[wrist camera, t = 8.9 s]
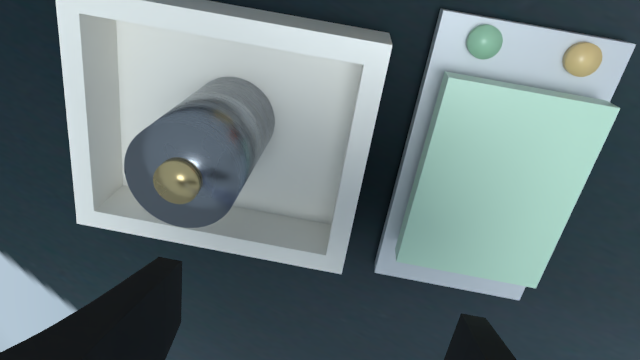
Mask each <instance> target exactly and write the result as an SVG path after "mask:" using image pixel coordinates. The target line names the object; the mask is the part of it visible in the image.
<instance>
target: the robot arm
mask: <svg viewBox="0 0 640 360" xmlns="http://www.w3.org/2000/svg"><path fill="white" fill-rule="evenodd" d="M181 295H182V261H178V260H172V259H167V258H162V257H158V258H157V259H155V260H154V261H152V262H151V263H149V264H148V265H146V266H145V267H143V268H142V269H140V270H139V271H137V272H136V273H134V274H133V275H131V276H130V277H129V278H127V279H126V280H124V281H123V282H121V283H120V284H118V285H117V286H115V287H114V288H112V289H111V290H109V291H108V292H106V293H105V294H103V295H102V296H100V297H98V298H97V299H95V300H94V301H92V302H91V303H89V304H88V305H86V306H84V307H83V308H81V309H79V310H78V311H76V312H74V313H73V314H71V315H69V316H68V317H66V318H64V319H63V320H61V321H59V322H58V323H56V324H54V325H53V326H51V327H49V328H47V329H45V330H44V331H42V332H40V333H38V334H36V335H34V336H32V337H31V338H29V339H27V340H25V341H23V342H21V343H19V344H17V345H15V346H13V347H11V348H9V349H7V350H5V351H3V352H0V360H165V358H166V356H167V354H168V352H169V349H170V347H171V345H172V342H173V340H174V338H175V335H176V333H177V330H178V328H179V326H180V323H181ZM444 360H516V358H515V357H514V356H513V354H512V353H511V352H510V350H509V349H508V348H507V346H506V345H505V344H504V342H503V341H502V340H501V338H500V337H499V335H498V334H497V333H496V331H495V330H494V329H493V327H492V326H491V325H490V323H489V322H488V321H487V320H486V318H482V317H477V316H471V315H466V314H461V315H460V318H459V321H458V323H457V326H456V329H455V332H454V334H453V337H452V340H451V342H450V345H449V348H448V351H447V353H446V356H445V359H444Z"/></svg>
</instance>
